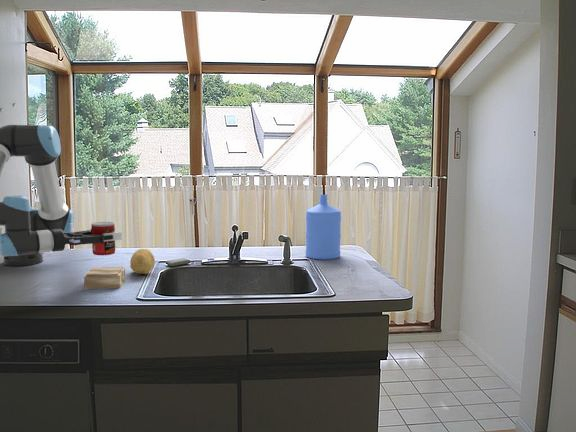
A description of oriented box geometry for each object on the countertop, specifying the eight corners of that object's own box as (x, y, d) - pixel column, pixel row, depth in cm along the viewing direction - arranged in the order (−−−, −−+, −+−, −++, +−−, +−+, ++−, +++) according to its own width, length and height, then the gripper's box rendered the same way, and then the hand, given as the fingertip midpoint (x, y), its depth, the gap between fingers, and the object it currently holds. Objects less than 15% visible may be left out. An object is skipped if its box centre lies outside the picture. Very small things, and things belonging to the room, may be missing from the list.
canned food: (108, 256, 192) (107, 225, 190) (88, 255, 193) (86, 224, 192) (119, 251, 199) (118, 222, 198) (99, 251, 201) (98, 221, 199)
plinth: (91, 280, 203) (91, 267, 202) (125, 279, 205) (124, 266, 204) (84, 289, 191) (83, 275, 191) (120, 287, 193) (119, 274, 192)
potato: (160, 269, 221) (159, 246, 220) (147, 278, 207) (147, 253, 205) (136, 268, 222) (135, 245, 221) (122, 277, 208) (121, 253, 206)
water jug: (339, 260, 239) (340, 197, 235) (303, 259, 241) (303, 196, 237) (341, 253, 254) (342, 193, 250) (307, 252, 256) (308, 192, 253)
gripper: (42, 247, 193) (106, 240, 207) (60, 256, 177) (128, 248, 191) (41, 226, 192) (105, 220, 206) (58, 233, 176) (127, 227, 190)
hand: (116, 234), depth 198 cm, fingers closed on canned food, 8 cm apart
